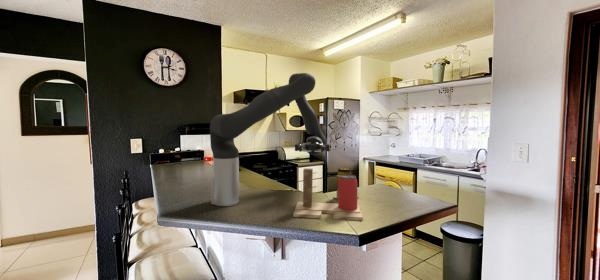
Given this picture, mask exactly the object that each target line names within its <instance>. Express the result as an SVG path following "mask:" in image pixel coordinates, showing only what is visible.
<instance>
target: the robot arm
mask: <svg viewBox="0 0 600 280" xmlns="http://www.w3.org/2000/svg"><path fill="white" fill-rule="evenodd" d="M315 86H316V79H315V76H314V75H312V74H311V73H307V72H299V73H293V74H291V75H290V77H289V79H288V84H286V85H281V86H278V87H274V88H271V89H268V90H266V91H264V92H263V93H261V94H259V95H257V96H255V98H254V99H253V100H252V101H251V102H250V103H249V104H247V106H245V107H243V108H241V109H238V110H236V111H234V112H231V113H221V114H217V115H215V116H214V117H213V118H212V119H211V121H210V125H209V135H210V136H209V137H210V149H211V152H212V168H213V169H212V171H213V173H212V174H213V177H212V178H210V190H211V191H210V192H211V193H210V196H211V197H210V200H211V201H210V202H211V203H210V204H211V205H215V206H218V207H229V206H234V205H238V204H239V203H240V170H239V169H240V160H239V159H240V156H239V155H240V153H239V149H238V147H236V144H235V141H234V140H235V139H236V138H238V137H239V136H241V135H242V134H244V132H246V131H247V130H248V129H249V128H251V127H252V126H253V125H255V124H257V123H258V122H261V121H263V120H264V119H266V118H268V117H269V116H271V115H273V114H276V113H277V112H278V111H279V110H281V109H282V108H284V107H286V106H288V105H289V104H291V103H292V102H294V101H295V103H296V105H297V108H298V110H299V112H300V115H301V118H302V122H303V124H304V129H305V131H306V132H305V133H306V134H308V135H313V136H308V137H307V138H306V141H305V143H304V142H303V143H302V144H301V143H296V144H294V151H295V152H299V153H301V152H305V153H307V154H309V155H311V156H316V155H319V154H320V153H324V152H330V151H331V149H330V148H331V147H330V146H331V144H330V143H328V139H327V138H326V136H325V135H324V133H323V131H322V129H321V126H320V122H319V118H318V116H317V114H316V112H315V109H313V108H312V106H311V105H310V103H309V102H308V100H307V98H306V95H308V94H311V92H313V90H314V89H315Z"/></svg>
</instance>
